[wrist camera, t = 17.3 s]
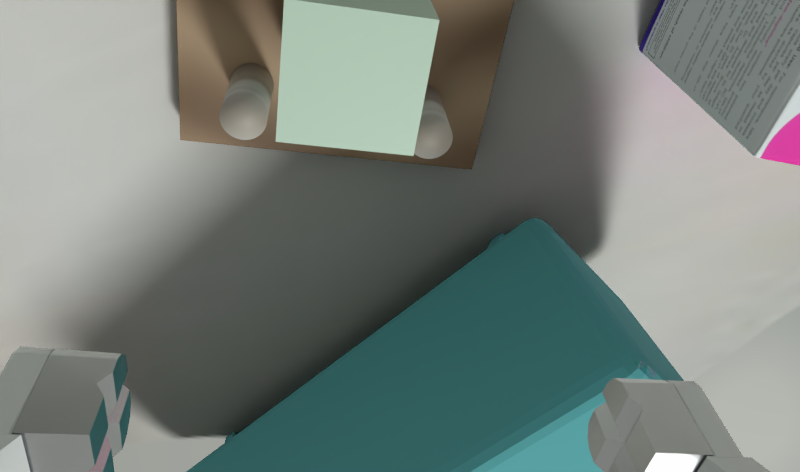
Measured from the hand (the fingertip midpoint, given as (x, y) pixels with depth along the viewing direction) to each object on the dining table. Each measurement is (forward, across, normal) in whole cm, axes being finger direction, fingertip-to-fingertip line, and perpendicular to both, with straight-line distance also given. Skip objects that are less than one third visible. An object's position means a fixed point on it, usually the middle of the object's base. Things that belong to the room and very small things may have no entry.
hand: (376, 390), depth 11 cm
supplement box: (+24, -18, -2) cm, 30 cm away
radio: (+24, -5, +25) cm, 35 cm away
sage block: (+23, 0, 0) cm, 23 cm away
